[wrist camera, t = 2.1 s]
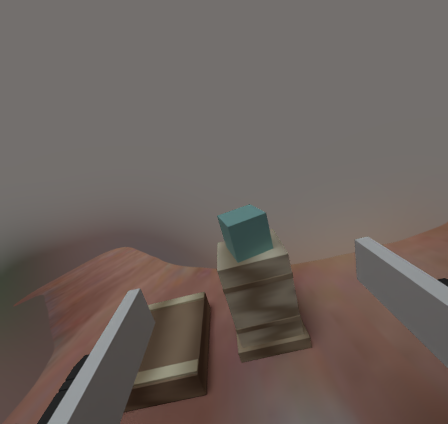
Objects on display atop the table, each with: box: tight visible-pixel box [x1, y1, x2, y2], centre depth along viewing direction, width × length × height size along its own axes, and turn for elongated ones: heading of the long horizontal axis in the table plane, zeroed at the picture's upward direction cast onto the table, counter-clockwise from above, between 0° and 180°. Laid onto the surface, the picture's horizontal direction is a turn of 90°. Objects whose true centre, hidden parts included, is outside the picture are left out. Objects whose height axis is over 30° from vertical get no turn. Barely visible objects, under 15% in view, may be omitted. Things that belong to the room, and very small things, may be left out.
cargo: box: [217, 204, 273, 263], centre depth 23 cm, size 4×4×4 cm
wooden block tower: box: [217, 229, 312, 362], centre depth 25 cm, size 8×7×12 cm
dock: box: [124, 292, 210, 412], centre depth 27 cm, size 12×12×3 cm
